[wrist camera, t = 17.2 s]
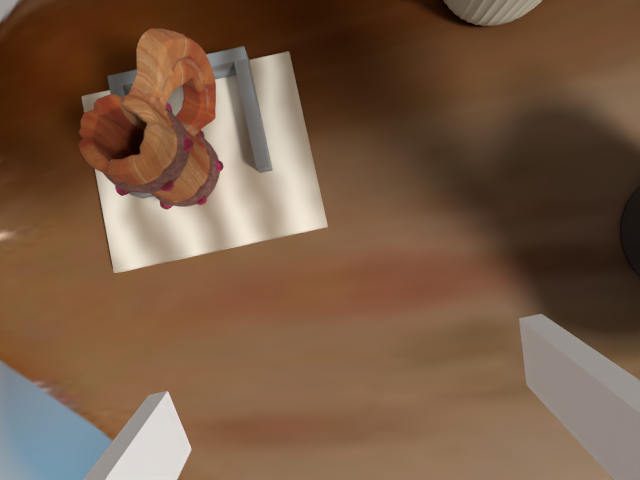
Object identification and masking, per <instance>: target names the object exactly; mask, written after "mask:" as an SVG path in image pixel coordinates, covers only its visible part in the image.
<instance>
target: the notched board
mask: <svg viewBox="0 0 640 480" xmlns="http://www.w3.org/2000/svg"><path fill="white" fill-rule="evenodd" d="M206 56H207V58H208V60H209V61H210V64H211V67H212V70H213V73H214V77H215V82H216V108H215V111H216V118H215V119H214V120H213V121H212V122H211V123H209V124H207V125H206V126H204V127H203V128H202V129H201V131H202V132H203V133H204V136H205V137H204V138H205V139H206V140H207V141H208V142H209V143H210V144H211V146H212V147H213V149H214V150H215V152H216V154H217V155H218V159H219V161H221V162H222V163H223V166H224V167H223V170H222V171H221V172H220V175H219V179H218V181H217V184H216V187H215V188H214V190H213V192H212V193H211V194H210V195H209V196H208V198H207V201H206V203H205V204H203V205H198V204H195V205H193V206H188V207H178V206H172V207H171V208H170V209H167V210H166V209H163V208H162V207H161V206H160V201H159V200H158V199H157V198H156V197H155V196H154V195H153V194H152V193H148V194H147V193H136V192H131V193H129V194H127V195H124V196H121V195H119V194H118V193H117V192H116V189H115V185H114V184H113V183H112V182H111V181H110V180H108V179H107V177H106V176H105V175H104V174H103V173H102V172H100V171H98V170H96V169H95V173H96V178H97V184H98V189H99V194H100V200H101V205H102V211H103V216H104V221H105V227H106V232H107V238H108V243H109V248H110V254H111V259H112V265H113V270H114V273H119V272H124V271H129V270H134V269H138V268H143V267H147V266H152V265H156V264H161V263H166V262H170V261H175V260H179V259H184V258H188V257H193V256H198V255H202V254H207V253H211V252H216V251H221V250H225V249H230V248H234V247H239V246H243V245H248V244H253V243H257V242H262V241H266V240H271V239H275V238H280V237H285V236H289V235H294V234H298V233H303V232H308V231H312V230H317V229H321V228H326V227H328V225H327V221H326V216H325V212H324V207H323V203H322V198H321V194H320V189H319V185H318V180H317V176H316V171H315V166H314V162H313V157H312V153H311V148H310V144H309V139H308V135H307V130H306V126H305V121H304V117H303V112H302V107H301V103H300V98H299V94H298V89H297V85H296V80H295V76H294V71H293V67H292V62H291V58H290V53H289V51H288V52H284V53H279V54H275V55H270V56H265V57H261V58H256V59H251V60H249V58H248V55H247V53H246V50H245V47H244V46H243V47H239V48H234V49H229V50H225V51H220V52H216V53H211V54H206ZM136 73H137V70H133V71H128V72H123V73H119V74H114V75H110V76H107V77H108V83H109V88H110V90H109V91H104V92H99V93H95V94H90V95H86V96H81V97H82V103H83V108H84V113H85V112H87V111H90V110H93V109H94V103H95V101H96V100H97V99H98V98H101V97H104V96H107V95H110V94H115V95H118V96H119V97H120V98H122V97H125V96H126V95H128V94H129V92H130V90H131V87H132V85H133V83H134V80H135V77H136ZM183 100H184V92H183V86H181V87H179V88H178V89H176V90H175V91H173V93H172V94H171V96H170V98H169V100H168V103H169V104H170V105H171V108H172V113H173V114H174V115H175V116H176V115H177V113H178V112H179V111H180V110H181V108H182V103H183Z"/></svg>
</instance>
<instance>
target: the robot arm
mask: <svg viewBox="0 0 640 480" xmlns="http://www.w3.org/2000/svg"><path fill="white" fill-rule="evenodd" d="M621 237H622V243H623V247H624V251H625V253H626V256H627V258H628V260H629V262H630V264H631V265H632V267H633V268H634V270H635V271H636V272H637V273H638V274H639V275H640V188H639V189H638V190H637V191H636V192H635V193H634V194H633V196H632V197H631V199H630V200H629V202H628V204H627V206H626V208H625V211H624V214H623V218H622V224H621ZM519 321H520V330H521V339H522V348H523V357H524V366H525V374H526V383H527V386H528V387H529V388H530V389H531V390H532V391H533V392H534V394H535V395H536V396H537V397H538V398H539V399H540V400H541V401H542V402H543V403H544V404H545V406H546V407H547V408H548V409H549V410H550V411H551V412H552V413H553V414H554V415H555V416H556V417H557V419H558V420H559V421H560V422H561V423H562V424H563V425H564V426H565V427H566V428H567V429H568V431H569V432H570V433H571V434H572V435H573V436H574V437H575V438H576V439H577V440H578V441H579V442H580V444H581V445H582V446H583V447H584V448H585V449H586V450H587V451H588V452H589V453H590V454H591V455H592V457H593V458H594V459H595V460H596V461H597V462H598V463H599V464H600V465H601V466H602V467H603V469H604V470H605V471H606V472H607V473H608V474H609V475H610V476H611V477H612V478H613V479H614V480H640V380H638V379H637V378H635V377H634V376H632V375H631V374H630V373H628V372H627V371H625V370H624V369H622V368H621V367H619V366H618V365H616V364H615V363H613V362H612V361H610V360H609V359H607V358H606V357H605V356H603V355H602V354H600V353H599V352H597V351H596V350H594V349H593V348H591V347H590V346H588V345H587V344H585V343H584V342H582V341H581V340H580V339H578V338H577V337H575V336H574V335H572V334H571V333H569V332H568V331H566V330H565V329H563V328H562V327H560V326H559V325H557V324H556V323H554V322H553V321H552V320H550V319H549V318H547V317H546V316H544V315H543V314H538V315H533V316H528V317H523V318H519ZM190 451H191V446H190V444H189V442H188V439H187V437H186V434H185V432H184V429H183V427H182V424H181V422H180V420H179V417H178V415H177V412H176V410H175V407H174V405H173V403H172V400H171V398H170V395H169V393H168V391H165V392H161V393H156V394H151V395H149V396H148V397H147V398H146V399H145V401H144V402H143V403H142V405H141V406H140V407H139V408H138V410H137V411H136V412H135V414H134V415H133V416H132V417H131V419H130V420H129V421H128V423H127V424H126V425H125V426H124V428H123V429H122V430H121V432H120V433H119V434H118V435H117V437H116V438H115V439H114V441H113V442H112V443H111V444H110V446H109V447H108V448H107V450H106V451H105V452H104V453H103V455H102V456H101V457H100V459H99V460H98V461H97V462H96V464H95V465H94V466H93V468H92V469H91V470H90V471H89V473H88V474H87V475H86V476H85V478H84V479H83V480H177V479H178V477H179V474H180V472H181V470H182V468H183V466H184V464H185V462H186V460H187V458H188V456H189V454H190Z"/></svg>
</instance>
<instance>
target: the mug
mask: <svg viewBox="0 0 640 480" xmlns="http://www.w3.org/2000/svg"><path fill="white" fill-rule="evenodd" d="M181 86H183V92H184V100H183V103H182V108H181V110H180V111H179V112H178V113H177V115H176V116H175V115H174V114H173V113H172V108H171V105H170V104H169V103H168V100H169V98H170V96H171V94H172V93H173V91H175V90H176V89H178V88H179V87H181ZM215 108H216V82H215V77H214V73H213V70H212V67H211V64H210V61H209V60H208V58H207V56H206V53H205V52H204V51H203V49H202V48H201V47H200V46H199V45H198V44H197V43H196V42H194V41H193V40H191V39H190V38H187V37H186V36H184V35H183V34H179V33H177V32H174V31H169V30H165V29H149V30H148V31H146V32H145V33H144V34H143V35H142V36H141V38H140V40H139V42H138V45H137V73H136V77H135V80H134V83H133V85H132V87H131V90H130V92H129V94H128V95H126V96H125V97H122V98H120V97H119V96H118V95H115V94H110V95H107V96H104V97H101V98H98V99H97V100H96V101H95V103H94V109H93V110H90V111H87V112H85V113H84V114H83V116H82V119H81V121H80V122H81V129H80V130H79V134H80V136H81V137H82V140H81V141H80V142H79V143H78V145H79V149H80V152H81V154H82V156H83V157H84V158H85V160H86V161H87V162H88V164H89V165H91V166H92V167H94V168H95V169H96V170H98V171H100V172H102V173H103V174H104V175H105V176H106V177H107V179H108V180H110V181H111V182H112V183H113V184H114V185H115V189H116V192H117V193H118V194H119V195H121V196H124V195H127V194H129V193H131V192H136V193H147V194H148V193H152V194H153V195H154V196H155V197H156V198H157V199H158V200H159V201H160V206H161V207H162V208H163V209H166V210H167V209H170V208H171V207H172V206H178V207H188V206H193V205H195V204H198V205H203V204H205V203H206V201H207V198H208V196H209V195H210V194H211V193H212V192H213V190H214V188H215V187H216V184H217V181H218V179H219V175H220V172H221V171H222V170H223V167H224V166H223V163H222V162H221V161H219V159H218V155H217V154H216V152H215V150H214V149H213V147H212V146H211V144H210V143H209V142H208V141H207V140H206V139H205V138H204V137H205V136H204V133H203V132H202V131H201V129H202V128H203V127H204V126H206V125H207V124H209V123H211V122H212V121H213V120H214V119H215V118H216V111H215Z"/></svg>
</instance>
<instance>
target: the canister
mask: <svg viewBox="0 0 640 480" xmlns="http://www.w3.org/2000/svg"><path fill="white" fill-rule="evenodd" d="M541 1H542V0H444V3H445V4H446V5H447V6H448V8H449V10H451V11H453V13H454V14H455V15H457V16H459V17H460V19H463V20H465V21H467V22H468V23H473V24H474V25H481V26H494V25H502V24H504V23H509V22H512V21H513V20H515V19H518V18H520V17H522V16H523V15H525V14H526V13H527V12H529V11H530V10H532V9H533V8H534V7H536V6H537V5H538V4H539V3H540V2H541Z"/></svg>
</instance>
